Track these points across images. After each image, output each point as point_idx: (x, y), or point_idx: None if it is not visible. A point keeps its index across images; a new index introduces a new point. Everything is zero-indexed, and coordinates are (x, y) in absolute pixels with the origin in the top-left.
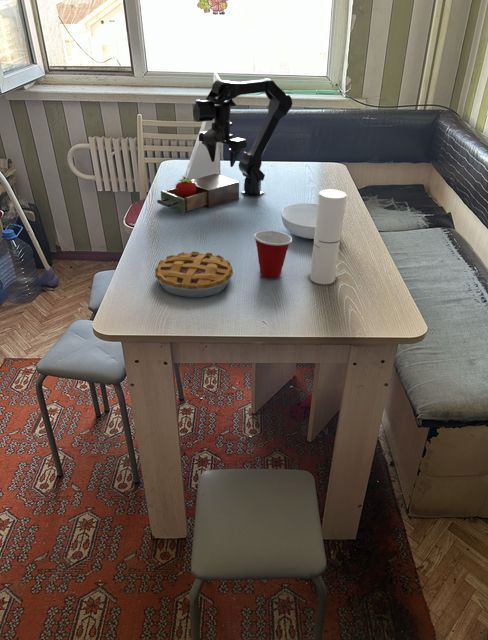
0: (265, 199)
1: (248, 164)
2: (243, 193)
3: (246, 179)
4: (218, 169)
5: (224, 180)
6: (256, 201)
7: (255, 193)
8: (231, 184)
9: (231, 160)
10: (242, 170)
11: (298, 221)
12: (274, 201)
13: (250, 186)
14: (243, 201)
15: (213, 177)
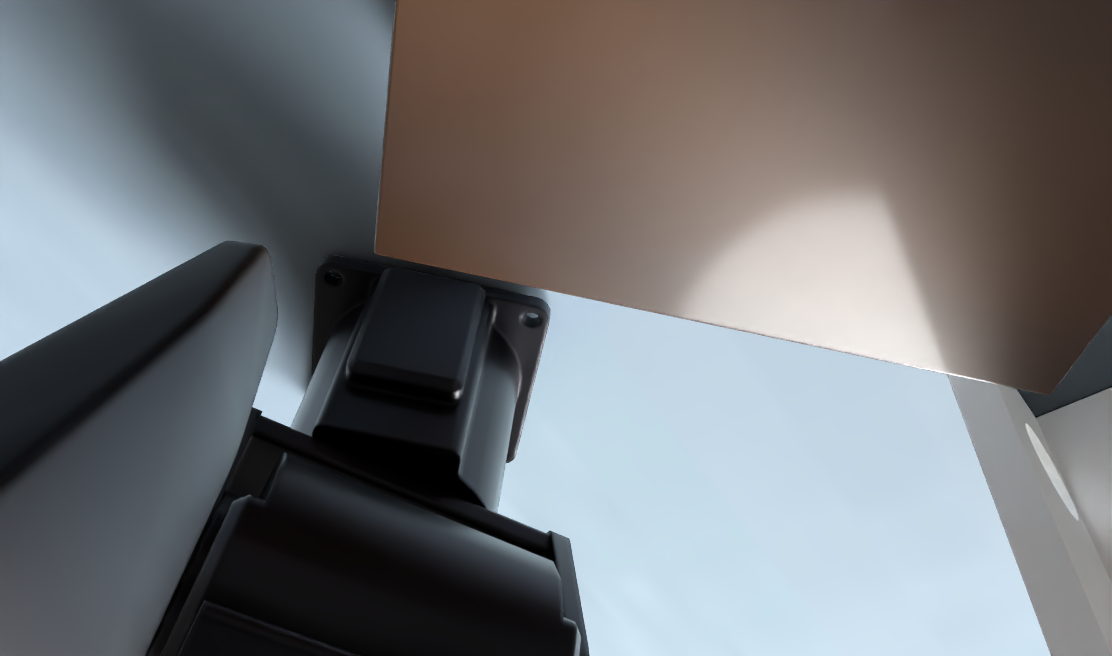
0: (157, 274)
1: (184, 637)
2: (506, 292)
3: (414, 439)
4: (1047, 536)
5: (661, 138)
6: (174, 145)
7: (331, 332)
8: (393, 26)
9: (40, 363)
10: (440, 538)
11: None
12: (27, 273)
13: (345, 358)
14: (305, 31)
15: (997, 176)
